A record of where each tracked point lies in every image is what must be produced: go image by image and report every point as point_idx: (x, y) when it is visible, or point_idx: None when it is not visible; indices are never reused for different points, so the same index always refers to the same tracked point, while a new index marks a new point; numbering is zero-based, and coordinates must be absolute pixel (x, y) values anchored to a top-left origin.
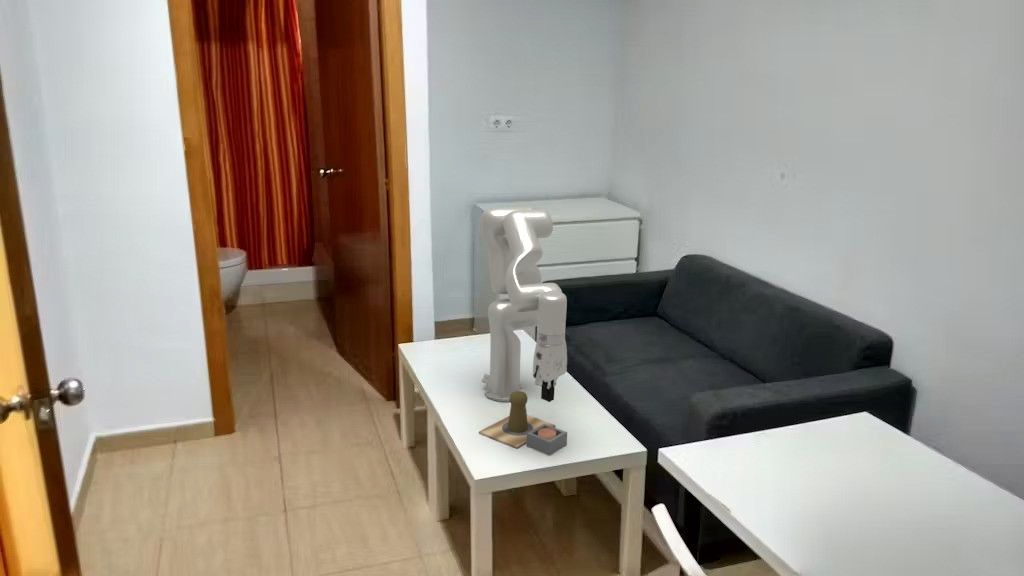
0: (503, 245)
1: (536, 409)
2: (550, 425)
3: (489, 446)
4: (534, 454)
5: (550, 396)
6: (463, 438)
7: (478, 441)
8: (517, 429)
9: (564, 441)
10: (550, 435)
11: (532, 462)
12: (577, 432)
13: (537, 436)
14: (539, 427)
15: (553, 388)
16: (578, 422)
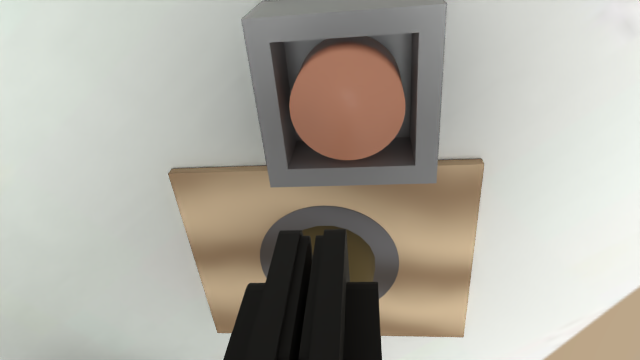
0: None
1: (138, 301)
2: (190, 187)
3: (534, 250)
4: (474, 61)
5: (344, 274)
6: (533, 342)
7: (521, 298)
8: (363, 252)
9: (279, 6)
10: (368, 64)
11: (566, 5)
12: (111, 58)
13: (429, 117)
14: (327, 177)
15: (272, 355)
16: (42, 123)
